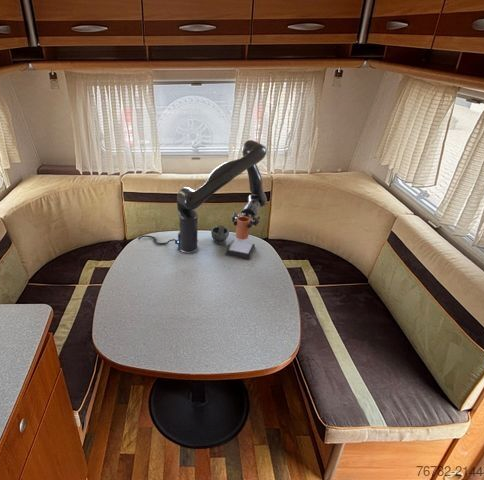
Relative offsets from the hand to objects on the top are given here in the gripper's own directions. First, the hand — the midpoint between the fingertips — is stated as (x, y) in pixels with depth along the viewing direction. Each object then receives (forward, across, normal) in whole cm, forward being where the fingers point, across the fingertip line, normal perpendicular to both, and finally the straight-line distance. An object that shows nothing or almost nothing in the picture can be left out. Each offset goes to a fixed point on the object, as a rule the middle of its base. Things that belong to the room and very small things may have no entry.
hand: (241, 225), depth 175 cm
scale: (-2, 0, +16) cm, 17 cm away
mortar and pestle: (-7, -13, +17) cm, 22 cm away
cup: (-2, 0, +8) cm, 8 cm away
